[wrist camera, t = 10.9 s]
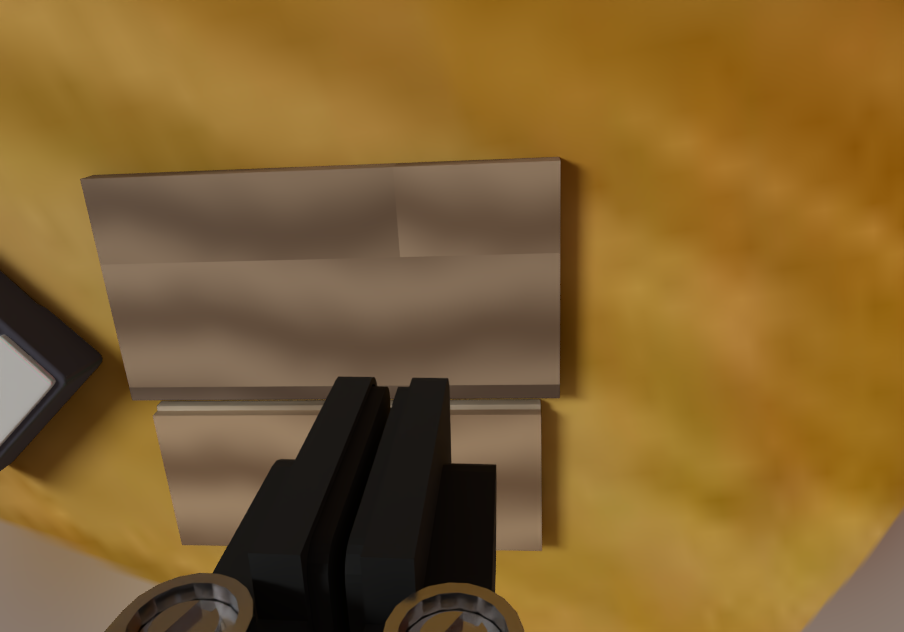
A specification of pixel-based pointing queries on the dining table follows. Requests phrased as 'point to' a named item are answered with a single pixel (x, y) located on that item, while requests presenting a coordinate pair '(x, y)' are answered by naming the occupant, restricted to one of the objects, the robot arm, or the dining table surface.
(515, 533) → the plank
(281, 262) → the laid row
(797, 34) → the dining table surface
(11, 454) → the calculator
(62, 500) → the dining table surface
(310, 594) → the robot arm
